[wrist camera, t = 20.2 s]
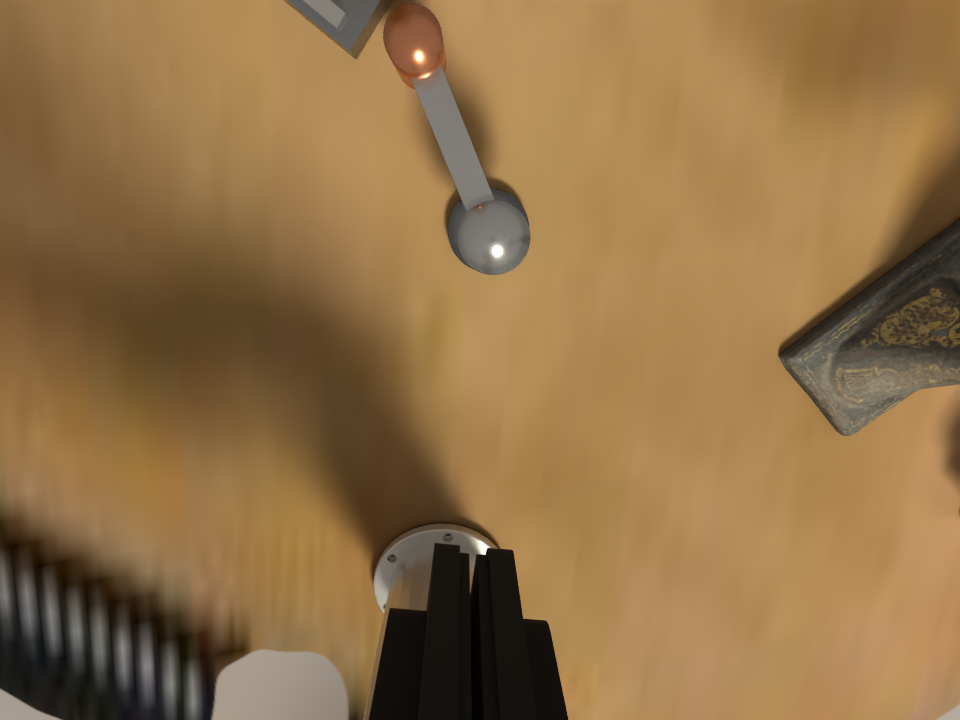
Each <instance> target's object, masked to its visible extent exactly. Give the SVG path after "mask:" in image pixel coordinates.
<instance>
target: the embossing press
mask: <svg viewBox="0 0 960 720" xmlns="http://www.w3.org/2000/svg"><path fill="white" fill-rule="evenodd" d="M778 356H779V358H780V360H781V361H782V363H783V365H784V367H785V368H786V370H787V371H788V372H789V373H790V374H791V376H792V377H793V378H794V379H795V381H796V382H797V383H798V384H799V385H800V386H801V387H802V389H803V390H804V391H805V392H806V393H807V394H808V395H809V397H810V398H811V399H812V400H813V402H814V403H815V404H816V405H817V407H818V408H819V409H820V411H821V412H822V413H823V415H824V416H825V417H826V418H827V420H828V421H829V422H830V424H831V425H832V426H833V427H834V428H835V430H836V431H837V432H838V433H840V434H841V435H843V436H850V435H852V434H855V433H856V432H858V431H859V430H860V429H861V428H862V427H865V426H867V425H868V424H869V423H871V422H872V421H874V420H875V419H876V418H877V417H879V416H880V415H881V414H883V413H885V412H886V411H888V410H890V409H891V408H893V407H894V406H895V405H897V404H898V403H900V402H901V401H902V400H904V399H905V398H907V397H908V396H909V395H911V394H912V393H914V392H916V391H917V390H920V389H926V388H932V387H941V386H950V385H956V384H960V220H959V221H957V222H956V223H955V224H953V225H952V226H951V227H949V228H948V229H946V230H945V231H944V232H942V233H941V234H940V235H938V236H937V237H936V238H934V239H933V240H931V241H930V242H929V243H927V244H926V245H925V246H923V247H922V248H921V249H919V250H918V251H917V252H915V253H914V254H913V255H911V256H910V257H909V258H907V259H906V260H905V261H903V262H902V263H901V264H899V265H898V266H896V267H895V268H894V269H892V270H891V271H890V272H888V273H887V274H886V275H884V276H883V277H882V278H881V279H879V280H878V281H877V282H875V283H874V284H873V285H872V286H870V287H869V288H868V289H867V290H865V291H864V292H863V293H862V294H860V295H858V296H857V297H855V298H854V299H852V300H851V301H850V302H848V303H847V304H846V305H844V306H843V307H841V308H840V309H839V310H837V311H836V312H835V313H833V314H832V315H831V316H829V317H828V318H827V319H825V320H824V321H823V322H821V323H820V324H819V325H817V326H816V327H815V328H814V329H812V330H811V331H810V332H808V333H807V334H806V335H805V336H803V337H802V338H801V339H799V340H798V341H797V342H796V343H794V344H793V345H792V346H790V347H789V348H788V349H786V350H785V351H783V352H782V353H781V354H779V355H778Z"/></svg>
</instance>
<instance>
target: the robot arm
mask: <svg viewBox="0 0 960 720" xmlns="http://www.w3.org/2000/svg"><path fill="white" fill-rule="evenodd" d="M373 584H374V594H375V598H376V601H377V603H378V605H379V607H380V609H381V611H382V612H383V613H384V616H383V621H382V627H381V632H380V637H379V642H378V647H377V652H376V657H375V663H374V668H373V673H372V678H371V683H370V688H369V693H368V699H367V704H366V709H365V714H364V719H363V720H568V716H567V711H566V706H565V701H564V696H563V691H562V686H561V682H560V677H559V672H558V667H557V662H556V657H555V652H554V647H553V642H552V637H551V632H550V628H549V625H548V623H547V621H543V620H531V619H523V615H522V608H521V601H520V594H519V587H518V580H517V573H516V566H515V559H514V553H513V550H507V549H498V548H497V547H496V546H495V545H494V544H493V543H492V542H491V541H490V540H489V539H488V538H486V537H485V536H483V535H482V534H480V533H478V532H476V531H474V530H471V529H469V528H466V527H463V526H458V525H454V524H431V525H425V526H421V527H418V528H414V529H412V530H410V531H408V532H406V533H404V534H402V535H400V536H399V537H398V538H396V539H395V540H393V541H392V542H391V543H390V544H389V546H388V547H387V548H386V549H385V550H384V552H383V553H382V555H381V557H380V558H379V560H378V564H377V567H376V570H375V575H374V580H373Z"/></svg>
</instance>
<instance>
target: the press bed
mask: <svg viewBox="0 0 960 720" xmlns="http://www.w3.org/2000/svg"><path fill="white" fill-rule="evenodd" d="M284 1H285V2H286V3H288V4H289V5H290V6H291V7H293V8H294V9H295V10H296V11H297V12H299V13H300V14H301V15H302V16H304V17H305V18H306V19H307V20H308V21H310V22H311V23H312V24H313V25H315V26H316V27H317V28H318V29H319V30H321V31H322V32H323V33H324V34H326V35H327V36H328V37H329V38H330V39H332V40H333V41H334V42H335V43H337V44H338V45H339V46H340V47H341V48H343V49H344V50H345V51H346V52H348V53H349V54H350V55H351V56H352V57H354V58H355V59H357V57H358V56H359V54H360V53H361V51H362V49H363V48H364V46H365V44H366V43H367V41H368V39H369V38H370V36H371V34H372V33H373V31H374V30H375V28H376V26H377V25H378V23H379V21H380V20H381V18H382V16H383V15H384V13H385V11H386V10H387V8H388V7H389V5H390V3H391V2H392V0H284Z"/></svg>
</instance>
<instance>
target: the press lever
mask: <svg viewBox="0 0 960 720" xmlns="http://www.w3.org/2000/svg"><path fill="white" fill-rule="evenodd" d="M383 39H384V45H385V48H386V51H387V53H388V55H389V57H390V59H391V61H392V62H393V64H394V66H395V68H396V70H397V72H398V74H399V76H400V77H401V79H402V80H403V82H404V83H405V84H406V85H408V86H409V87H411V88H413V89H415V90H416V92H417V94H418V96H419V99H420V101H421V104H422V106H423V108H424V111H425V113H426V116H427V118H428V120H429V123H430V125H431V128H432V130H433V132H434V135H435V137H436V140H437V142H438V144H439V147H440V149H441V152H442V154H443V156H444V159H445V161H446V164H447V166H448V168H449V171H450V173H451V175H452V178H453V180H454V183H455V185H456V187H457V190H458V192H459V195H460V197H461V199H462V202H463V204H464V207H465V209H466V211H467V212H466V214H465V215H464V217H463V218H462V220H461V223H460V226H459V230H458V246H459V250H460V253H461V255H462V257H463V258H464V260H465V261H466V262H467V264H468V265H469V266H471V267H472V268H473V269H475V270H476V271H478V272H480V273H484V274H488V275H499V274H504V273H506V272H509V271H511V270H513V269H514V268H515V267H517V266H518V265H519V264H520V263H521V262H522V260H523V259H524V257H525V256H526V254H527V251H528V249H529V245H530V230H529V226H528V223H527V221H526V219H525V217H524V216H523V214H522V213H521V212H520V211H519V210H518V209H517V208H516V207H514V206H513V205H511V204H509V203H506V202H504V201H498V200H494V197H493V195H492V192H491V190H490V187H489V185H488V182H487V180H486V177H485V175H484V172H483V170H482V167H481V165H480V162H479V160H478V157H477V155H476V152H475V150H474V147H473V144H472V142H471V139H470V137H469V134H468V132H467V129H466V127H465V124H464V122H463V119H462V117H461V114H460V112H459V109H458V107H457V104H456V102H455V99H454V97H453V94H452V92H451V89H450V87H449V84H448V82H447V79H446V77H445V74H444V72H445V68H446V59H445V52H444V45H443V38H442V31H441V27H440V24H439V22H438V20H437V18H436V17H435V16H434V14H433V13H432V12H431V11H430V10H429V9H427V8H426V7H424V6H422V5H419V4H414V3H408V4H404V5H401V6H399V7H397V8H396V9H395V10H393V12H392V13H391V14H390V15H389V17H388V18H387V20H386V23H385V26H384V32H383Z"/></svg>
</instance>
